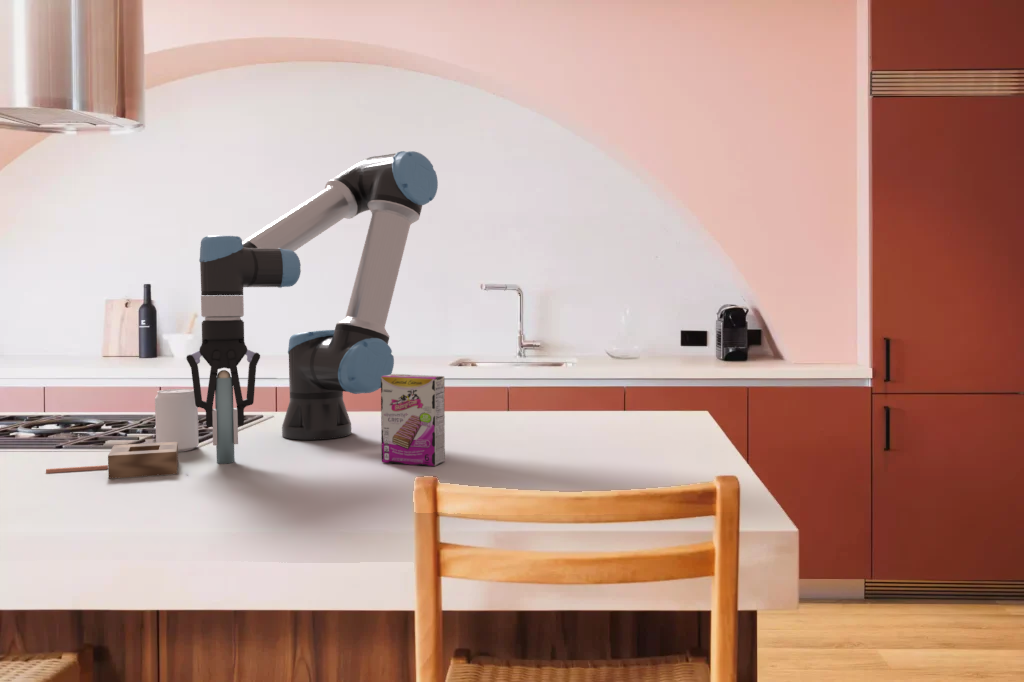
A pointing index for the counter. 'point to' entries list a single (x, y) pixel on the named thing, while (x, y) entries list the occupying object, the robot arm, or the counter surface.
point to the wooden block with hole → (143, 460)
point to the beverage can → (177, 418)
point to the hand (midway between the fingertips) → (225, 443)
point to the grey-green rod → (224, 418)
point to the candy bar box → (412, 419)
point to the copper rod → (76, 469)
